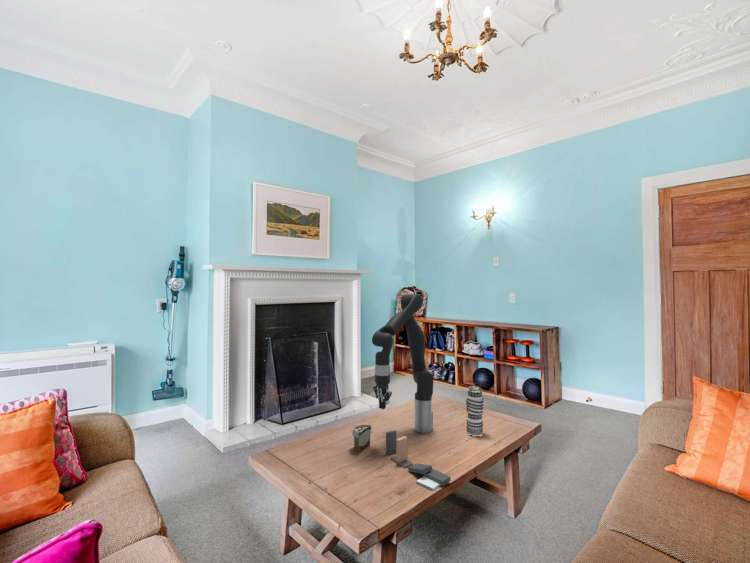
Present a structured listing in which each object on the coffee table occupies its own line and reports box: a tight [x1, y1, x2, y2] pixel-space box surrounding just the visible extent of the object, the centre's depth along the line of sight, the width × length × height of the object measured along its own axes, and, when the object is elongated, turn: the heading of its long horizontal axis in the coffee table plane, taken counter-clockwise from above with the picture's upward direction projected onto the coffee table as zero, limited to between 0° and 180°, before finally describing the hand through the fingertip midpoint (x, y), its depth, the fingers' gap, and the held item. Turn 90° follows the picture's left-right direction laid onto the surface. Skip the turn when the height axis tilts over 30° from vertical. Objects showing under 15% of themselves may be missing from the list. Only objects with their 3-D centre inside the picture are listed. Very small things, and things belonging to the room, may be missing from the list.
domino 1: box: [385, 430, 397, 456], centre depth 175 cm, size 5×2×10 cm, turn 124°
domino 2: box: [396, 435, 409, 463], centre depth 166 cm, size 5×2×10 cm, turn 125°
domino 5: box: [422, 468, 451, 486], centre depth 151 cm, size 5×2×10 cm
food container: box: [351, 424, 372, 454], centre depth 180 cm, size 12×6×10 cm, turn 149°
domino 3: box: [390, 455, 414, 469], centre depth 166 cm, size 5×2×10 cm
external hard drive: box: [415, 476, 442, 492], centre depth 151 cm, size 2×8×12 cm
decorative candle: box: [465, 385, 484, 437], centre depth 199 cm, size 9×9×25 cm
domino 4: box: [407, 463, 433, 475], centre depth 156 cm, size 5×2×10 cm
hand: (382, 408), depth 182 cm, fingers closed
